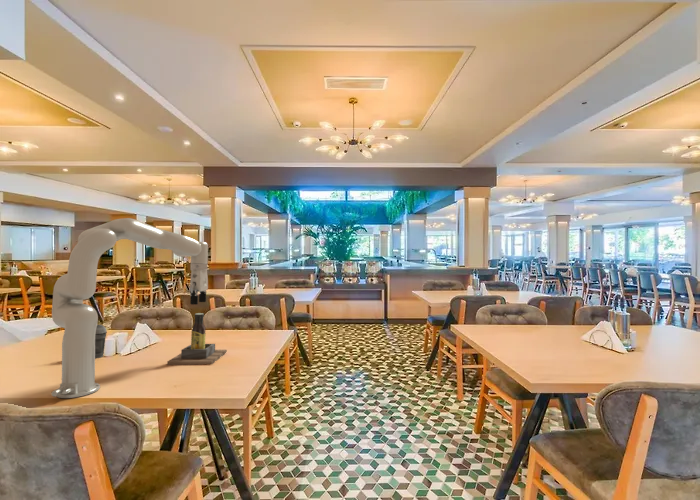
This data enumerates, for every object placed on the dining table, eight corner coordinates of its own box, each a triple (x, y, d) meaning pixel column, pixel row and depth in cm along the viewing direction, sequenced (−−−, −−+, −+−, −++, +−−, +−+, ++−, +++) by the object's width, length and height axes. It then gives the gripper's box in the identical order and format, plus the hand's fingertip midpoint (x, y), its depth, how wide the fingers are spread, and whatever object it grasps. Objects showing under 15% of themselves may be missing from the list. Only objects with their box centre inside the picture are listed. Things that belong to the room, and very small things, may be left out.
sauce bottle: (187, 356, 170) (188, 314, 170) (199, 352, 175) (199, 312, 176) (197, 357, 167) (197, 315, 167) (208, 354, 172) (208, 313, 173)
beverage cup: (97, 359, 169) (97, 317, 170) (84, 358, 171) (84, 316, 171) (110, 355, 177) (110, 314, 177) (98, 354, 178) (98, 314, 178)
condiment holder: (212, 364, 161) (212, 352, 162) (167, 364, 161) (167, 352, 161) (226, 352, 181) (226, 341, 182) (186, 352, 181) (187, 341, 181)
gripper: (199, 267, 163) (198, 305, 163) (213, 267, 181) (212, 301, 180) (183, 267, 163) (182, 305, 163) (198, 267, 181) (197, 301, 180)
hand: (198, 303), depth 171 cm, fingers open, 9 cm apart
